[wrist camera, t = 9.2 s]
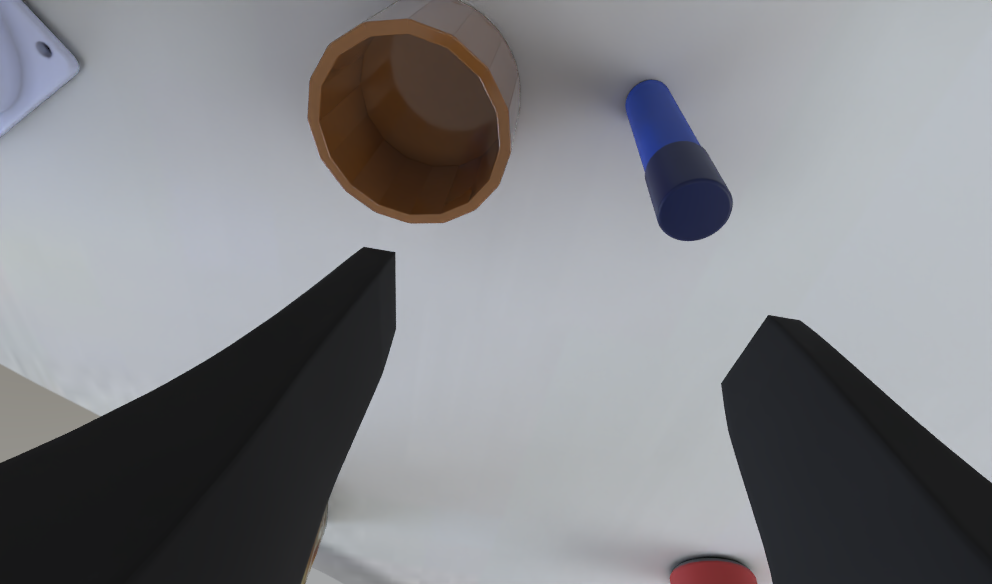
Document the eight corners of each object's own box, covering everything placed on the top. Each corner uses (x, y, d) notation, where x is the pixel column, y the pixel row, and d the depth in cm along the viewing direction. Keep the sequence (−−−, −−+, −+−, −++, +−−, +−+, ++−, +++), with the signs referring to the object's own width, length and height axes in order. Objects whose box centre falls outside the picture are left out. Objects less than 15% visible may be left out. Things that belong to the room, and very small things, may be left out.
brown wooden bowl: (322, 49, 16) (264, 85, 13) (468, -45, 14) (442, -29, 11) (415, 190, 20) (386, 247, 16) (547, 130, 17) (543, 182, 14)
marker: (614, 102, 17) (642, 211, 11) (653, 67, 16) (707, 164, 10) (642, 134, 17) (684, 254, 11) (681, 101, 16) (748, 213, 10)
